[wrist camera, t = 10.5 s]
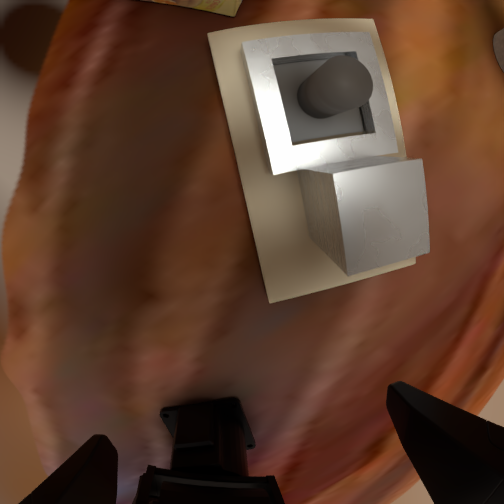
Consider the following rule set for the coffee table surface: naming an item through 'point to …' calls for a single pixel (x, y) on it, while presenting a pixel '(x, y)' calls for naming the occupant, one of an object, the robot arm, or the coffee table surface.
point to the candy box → (207, 5)
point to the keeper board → (301, 131)
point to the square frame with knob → (343, 160)
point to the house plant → (499, 47)
